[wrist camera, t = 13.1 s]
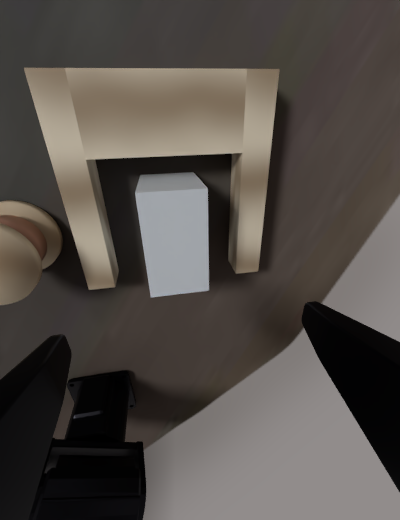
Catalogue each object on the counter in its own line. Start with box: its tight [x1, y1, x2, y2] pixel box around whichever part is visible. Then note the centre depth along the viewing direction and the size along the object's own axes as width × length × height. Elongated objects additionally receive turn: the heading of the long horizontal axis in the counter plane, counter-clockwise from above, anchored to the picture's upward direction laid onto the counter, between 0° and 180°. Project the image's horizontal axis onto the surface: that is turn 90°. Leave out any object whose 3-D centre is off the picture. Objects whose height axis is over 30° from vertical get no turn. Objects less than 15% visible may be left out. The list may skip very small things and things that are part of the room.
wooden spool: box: [0, 200, 63, 305], centre depth 17 cm, size 6×6×5 cm
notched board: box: [24, 68, 279, 290], centre depth 18 cm, size 14×14×2 cm
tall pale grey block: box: [135, 172, 209, 297], centre depth 18 cm, size 7×4×6 cm, turn 1°
